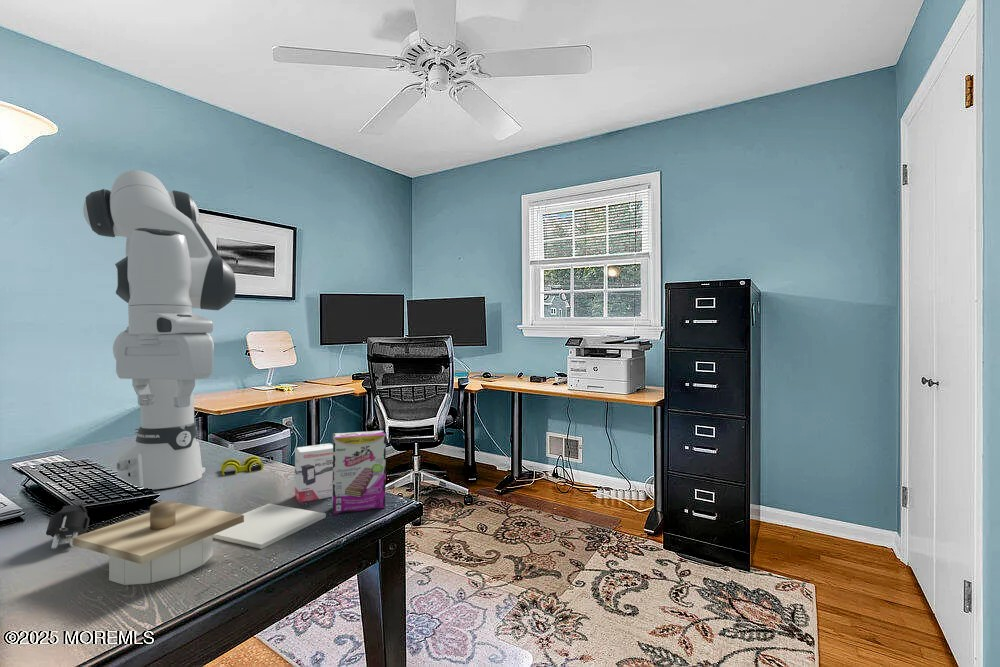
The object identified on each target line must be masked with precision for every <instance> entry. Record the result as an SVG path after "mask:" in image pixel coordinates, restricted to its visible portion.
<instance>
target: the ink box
mask: <svg viewBox="0 0 1000 667" xmlns="http://www.w3.org/2000/svg"><path fill="white" fill-rule="evenodd" d="M332 476H333V443H321V444H314V445H307V446H297V448H295V449H294V489H295V490H294V492H295V493H294V495H295V498H296V501H297V502H298V503H300V504H301V503H305V501H306V502H310V501H315V500H321V499H327V498H332Z"/></svg>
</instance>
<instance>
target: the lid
mask: <svg viewBox="0 0 1000 667" xmlns="http://www.w3.org/2000/svg"><path fill="white" fill-rule="evenodd" d="M242 522H244V515H241V513H240V514H239V513H234V512H231V511H224V510H219V509H213V508H209V507H203V506H198V505H194V504H189V503H182V502H178V503H176V501H174V500H170V501H169V500H168V501H167V500H166V501H161V502H156V503H154V504H151V505H150V506H149V512H147V513H144V514H141V515H138V516H135V517H132V518H128V519H126V520H123V521H119V522H116V523H114V524H110V525H106V526H104V527H101V528H97V529H95V530H91V531H89V532H88V531H87V532H86V533H85V534H82V535H79V536H76V537H73V538H72V545H73V547H77V548H82V549H85V550H89V551H93V552H95V553H100V554H102V555H103V554H104V555H108V556H109V555H110V556H113V557H117V558H121V559H124V560H128V561H132V562H135V563H139V564H143V563H146V562H148V561H150V560H153V559H155V558H158V557H160V556H163V555H165V554H167V553H170V552H172V551H175V550H177V549H179V548H182V547H184V546H187V545H189V544H192V543H194V542H196V541H199V540H201V539H204V538H206V537H208V536H211V535H213V534H216V533H218V532H221V531H223V530H225V529H228V528H230V527H233V526H235V525H237V524H240V523H242Z"/></svg>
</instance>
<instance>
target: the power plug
mask: <svg viewBox="0 0 1000 667" xmlns="http://www.w3.org/2000/svg"><path fill="white" fill-rule="evenodd" d="M47 524H48V525H47V529H46V531H45V534H46V535H47V536H50V537H52V538H53V539H52V544H51V547H50V549H52V550H55V549H57V548H58V545H59V541H60V539H64V538H66V539H67V538H70V537H71V538H70V542H69V547H74V546H73V545H72V538H73V537H76V536H79V535H82V534H85V533H88V528H89V526H90V525H89V524H90V517H89V516H88V510H87V509H86V507H85V506H84V505H83V504H82V503H78V504H71V505H70V504H69V505H64V506H62V509H61V510H59V511H57V512H56V513H55V514H53V515H51V516H50V518H49V521H48V523H47Z"/></svg>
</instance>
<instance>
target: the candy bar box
mask: <svg viewBox="0 0 1000 667" xmlns="http://www.w3.org/2000/svg"><path fill="white" fill-rule="evenodd" d="M386 437H387V434H386V433H385V432H384V430H372V431H371V430H369V431H354V432H350V431H349V432H337V433H332V445H333V476H332V497H331V500H332V504H331V505H332V514H333V515H336V514H343V513H354V512H360V511H362V512H363V511H368V510H369V511H370V510H377V509H378V510H379V509H385V508H386V463H387V462H386V461H387V460H386V459H387V458H386V457H387V456H386V455H387V453H386V450H387V449H386V446H387V444H386V443H387V438H386Z"/></svg>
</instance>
